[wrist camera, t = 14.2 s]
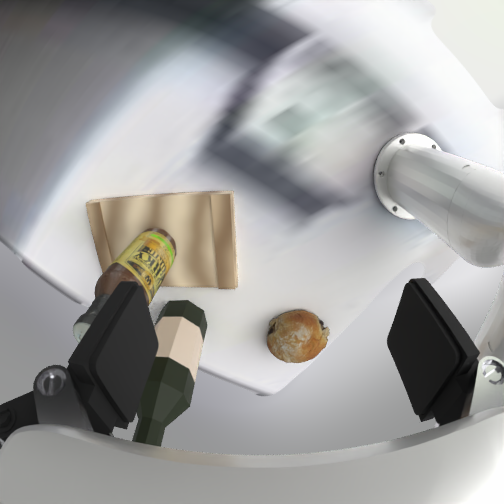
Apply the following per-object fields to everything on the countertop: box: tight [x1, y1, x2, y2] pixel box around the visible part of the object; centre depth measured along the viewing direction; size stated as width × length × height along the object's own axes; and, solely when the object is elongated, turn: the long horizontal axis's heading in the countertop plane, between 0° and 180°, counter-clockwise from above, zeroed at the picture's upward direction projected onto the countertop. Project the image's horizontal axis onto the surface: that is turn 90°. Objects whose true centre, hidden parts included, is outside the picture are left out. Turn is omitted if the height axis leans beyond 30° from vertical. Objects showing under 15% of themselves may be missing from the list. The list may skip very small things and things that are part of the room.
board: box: [86, 191, 238, 289], centre depth 39 cm, size 22×14×2 cm, turn 91°
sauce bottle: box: [73, 228, 176, 343], centre depth 29 cm, size 6×6×20 cm
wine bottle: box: [132, 300, 207, 447], centre depth 33 cm, size 8×8×30 cm
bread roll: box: [267, 310, 329, 363], centre depth 45 cm, size 10×10×8 cm
